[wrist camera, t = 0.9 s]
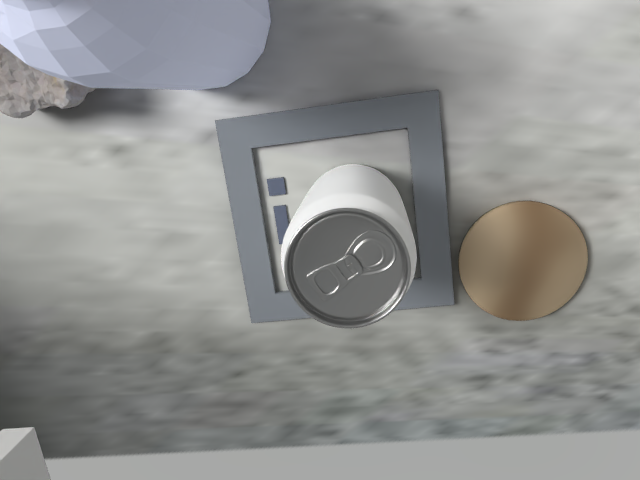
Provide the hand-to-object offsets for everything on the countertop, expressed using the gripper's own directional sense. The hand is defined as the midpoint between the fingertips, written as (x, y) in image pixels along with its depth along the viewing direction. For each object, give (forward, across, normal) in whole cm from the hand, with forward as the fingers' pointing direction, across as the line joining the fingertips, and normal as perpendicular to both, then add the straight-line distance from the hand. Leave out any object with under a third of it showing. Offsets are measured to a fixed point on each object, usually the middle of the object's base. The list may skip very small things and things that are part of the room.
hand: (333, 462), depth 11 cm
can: (+25, 0, 0) cm, 25 cm away
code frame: (+25, -1, 0) cm, 25 cm away
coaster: (+25, +10, -4) cm, 27 cm away
